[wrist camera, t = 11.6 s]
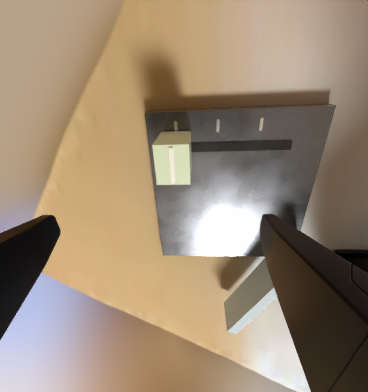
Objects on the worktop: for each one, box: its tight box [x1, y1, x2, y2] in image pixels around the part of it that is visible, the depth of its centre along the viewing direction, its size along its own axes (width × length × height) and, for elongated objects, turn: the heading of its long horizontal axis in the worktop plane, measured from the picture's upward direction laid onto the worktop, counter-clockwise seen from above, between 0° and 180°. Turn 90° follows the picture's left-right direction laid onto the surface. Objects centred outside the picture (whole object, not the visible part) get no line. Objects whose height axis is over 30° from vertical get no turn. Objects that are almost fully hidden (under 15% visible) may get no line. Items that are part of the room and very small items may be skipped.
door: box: [224, 259, 277, 334], centre depth 24 cm, size 14×2×4 cm, turn 156°
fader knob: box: [152, 131, 192, 185], centre depth 17 cm, size 2×3×4 cm
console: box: [145, 104, 336, 256], centre depth 21 cm, size 15×16×1 cm
